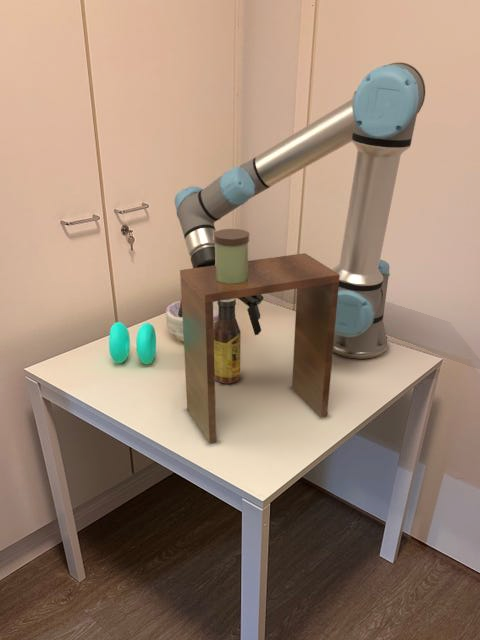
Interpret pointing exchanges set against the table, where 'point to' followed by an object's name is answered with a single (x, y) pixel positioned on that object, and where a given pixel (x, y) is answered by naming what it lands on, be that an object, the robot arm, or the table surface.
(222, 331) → the sauce bottle
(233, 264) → the spice jar
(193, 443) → the table surface
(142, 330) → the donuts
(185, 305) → the shelf
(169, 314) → the paper bowls
